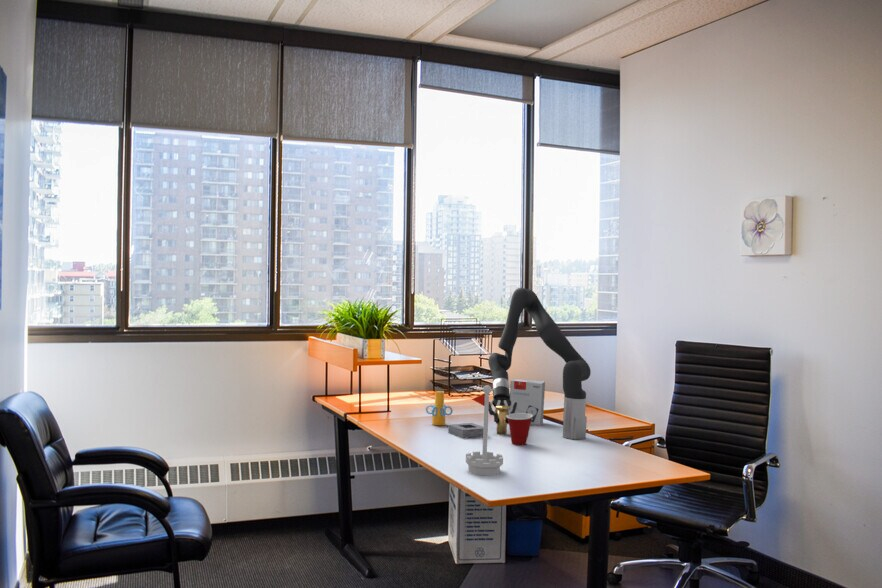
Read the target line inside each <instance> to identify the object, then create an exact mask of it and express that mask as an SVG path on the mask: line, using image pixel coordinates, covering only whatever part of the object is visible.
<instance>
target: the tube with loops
mask: <svg viewBox="0 0 882 588" xmlns="http://www.w3.org/2000/svg"><path fill="white" fill-rule="evenodd" d="M434 393H435V395H434V396H435V397H434V404H433V405H432V404H429V405H427V406H426V407H425V412H426V413H427V414H428V415H431V417H432V418H431V419H432V420H431V424H432V425H433V426H445V425H446V416H450V415H452V413H453V407H452V406H449V405H446V404H445V391H444V390H435V391H434ZM430 407H431V408H432V409H431V411H429V410H428V409H429V408H430ZM447 409H450V412H449V413H447Z"/></svg>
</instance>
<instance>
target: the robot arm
mask: <svg viewBox="0 0 882 588" xmlns="http://www.w3.org/2000/svg"><path fill="white" fill-rule="evenodd" d="M524 310H525V311H526V312H527V314H528V315H529V316H530V317H531V318H532V320H533V322H534V324H535V329H536V333H537V335H538V336H539V337H540V339H541V341H542V342H543V343H544V345H546V346H547V348H549V349H550V350H552V351H553V352H554V353H555V354H557V355H558V356H559V357H560V358H561V359H563V361H564V362H565V364H564V366H563V370H562V391H563V393H564V394H563V395H564V397H563V400H564V401H563V402H564V403H563V421H562V423H563V424H562V437H563V438H565V439H571V440H583V439H586V438H587V422H588V421H587V419H588V418H587V416H586V407H587V406H586V404H587V403H586V402H587V392H586V391H585V390H583V388H582V382H584V381H587V380H588V379H589V378H590V376H591V372H592V371H591V367H590V365H589V363H587V361H586V360H585V359H584V358H583V357H582V356H581V355H580V353H578V351H577V350H576V349H575V348H574V346H573V345H572V344H571V342H570V341H569V340H568V338H567V337H566V335H565V334H564V333H563V331H562V329H561V328H560V327H559V325H558V324H557V323H556V322H555V321H554V319H553V318H552V317H551V315H550V314H549V313H548V311H546V309H545V307H544V306H543V304H542V303H541V301H540V299H539V297H538V295H537V294H536V293H535V292H534V291H533V290H532V289H529V288H525V287H518V288H516V289H515V290H513V293H512V294H511V299H510V305H509V308H508V311H507V312H508V313H507V317H506V321H505V325H504V328H503V331H502V334H501V336H500V339H499V341H498V346H497V347H498V348H499V349H500V350H502V351H504V354H501V353H498V352H492V353H491V354H490V355H489V357H488V359H487V361H488V362H487V363H488V366H489V369H490V371H491V375H492V388H491V391H492V401H489V411H488V415H490V416H493V421H494V423H495V424H497V423H498V415H497V409H496V406H497V405H506V406H510V405H512V408H513V409H512V412H510V410H509V409H508V414H507V415H509V414H513V413H515V410H516V407H517V402H515V403H513V402H511V400H510V382H509V373H508V370H509V369H511V366H512V360H513V359H512V357H513V351H514V347H515V344H516V341H517V339H518V337H519V326H520V325H519V324H520V319H521V314H522V313H523V311H524ZM492 406H493V407H494V410H493V408H492ZM507 425H509V422H508V419H507Z"/></svg>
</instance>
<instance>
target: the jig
mask: <svg viewBox="0 0 882 588" xmlns="http://www.w3.org/2000/svg"><path fill="white" fill-rule="evenodd" d="M483 428H484V425H483V426H482V425H479V424H477V423H473V422H466V423H451V424H448V431H447V432H448V434H452V435H453V436H455V437H459V438H461V439H470V438H471V439H472V438H481V437H482V436H483ZM482 438H483V437H482Z"/></svg>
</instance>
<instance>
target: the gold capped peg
mask: <svg viewBox="0 0 882 588" xmlns="http://www.w3.org/2000/svg"><path fill="white" fill-rule="evenodd" d="M496 409H497V415H498V423H496V435H501V436H505V435H507V434H508V424H507V417H506V416H507V414H508V409H509V406H506V405H497V406H496Z"/></svg>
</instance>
